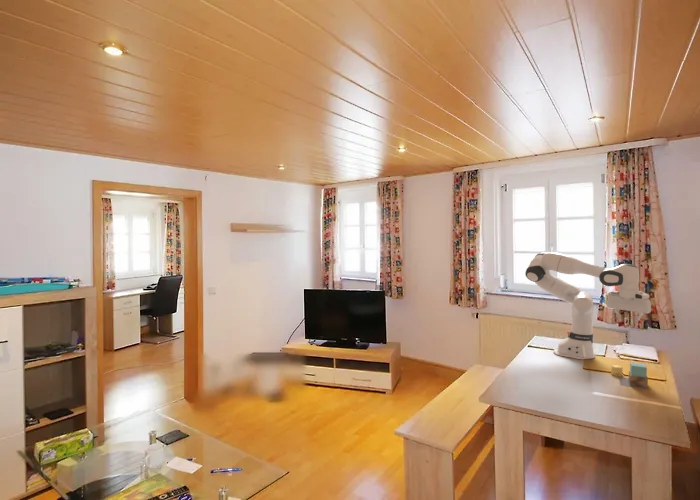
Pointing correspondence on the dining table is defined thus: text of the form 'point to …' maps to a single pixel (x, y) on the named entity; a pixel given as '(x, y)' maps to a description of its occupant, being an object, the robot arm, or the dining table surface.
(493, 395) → the dining table surface
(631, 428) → the dining table surface
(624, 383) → the slate board
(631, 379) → the block base
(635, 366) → the block top
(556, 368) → the dining table surface
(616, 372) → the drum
